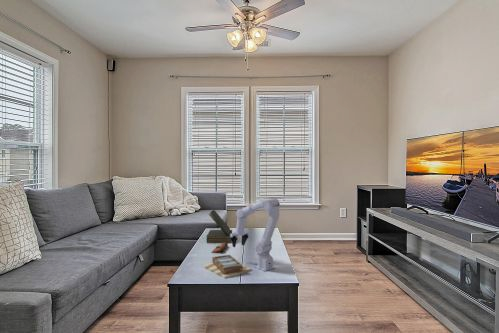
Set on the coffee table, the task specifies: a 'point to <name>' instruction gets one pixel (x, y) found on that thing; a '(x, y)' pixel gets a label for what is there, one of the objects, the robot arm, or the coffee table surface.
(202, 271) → the coffee table surface
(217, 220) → the green open lidded box
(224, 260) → the tan cardboard box
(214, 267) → the birch board
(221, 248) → the sweet potato
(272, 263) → the robot arm
